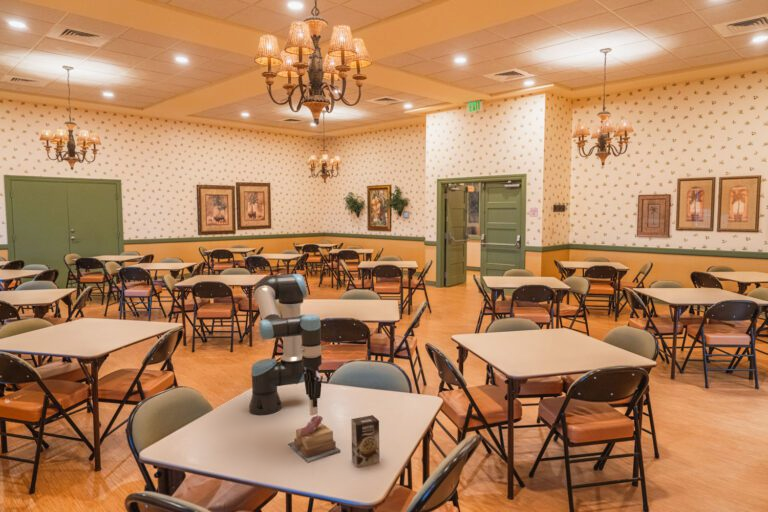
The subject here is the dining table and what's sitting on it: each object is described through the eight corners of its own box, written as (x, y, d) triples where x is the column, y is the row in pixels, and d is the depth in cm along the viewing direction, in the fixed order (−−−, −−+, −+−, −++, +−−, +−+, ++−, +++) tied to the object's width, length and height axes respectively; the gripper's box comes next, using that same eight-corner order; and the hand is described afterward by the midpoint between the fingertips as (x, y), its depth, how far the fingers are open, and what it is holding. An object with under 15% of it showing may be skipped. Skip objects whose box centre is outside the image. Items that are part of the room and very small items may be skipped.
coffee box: (357, 467, 179) (356, 425, 178) (351, 460, 185) (350, 418, 184) (380, 462, 183) (379, 420, 181) (373, 454, 189) (372, 414, 187)
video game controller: (308, 440, 188) (315, 425, 186) (298, 434, 189) (305, 419, 187) (319, 429, 197) (326, 415, 196) (310, 423, 198) (316, 409, 197)
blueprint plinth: (288, 445, 198) (287, 426, 197) (319, 435, 206) (318, 417, 205) (307, 463, 183) (307, 442, 183) (340, 452, 191) (339, 432, 191)
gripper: (295, 353, 194) (297, 411, 196) (310, 360, 183) (312, 422, 185) (312, 350, 198) (314, 406, 200) (328, 357, 188) (330, 417, 190)
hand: (313, 414), depth 193 cm, fingers closed
